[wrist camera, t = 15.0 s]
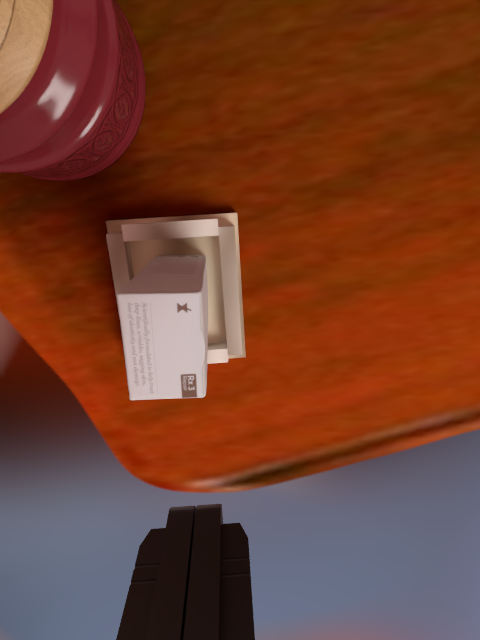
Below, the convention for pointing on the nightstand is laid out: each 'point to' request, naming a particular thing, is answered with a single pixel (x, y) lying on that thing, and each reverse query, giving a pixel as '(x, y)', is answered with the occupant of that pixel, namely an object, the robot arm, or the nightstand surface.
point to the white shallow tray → (189, 239)
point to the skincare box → (166, 328)
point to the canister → (67, 87)
